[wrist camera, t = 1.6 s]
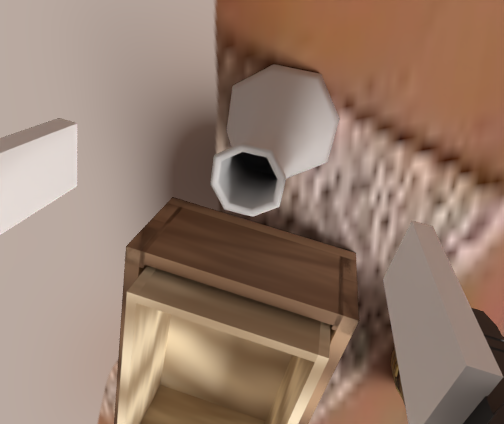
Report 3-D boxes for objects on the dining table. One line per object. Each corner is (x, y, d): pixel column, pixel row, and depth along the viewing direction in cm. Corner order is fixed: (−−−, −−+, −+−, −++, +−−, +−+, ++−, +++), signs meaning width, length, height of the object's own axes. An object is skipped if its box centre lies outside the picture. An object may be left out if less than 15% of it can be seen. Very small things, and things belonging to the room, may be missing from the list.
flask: (217, 71, 24) (143, 102, 15) (336, 54, 22) (331, 78, 13) (236, 179, 27) (184, 258, 18) (342, 173, 25) (341, 256, 16)
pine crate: (180, 223, 28) (126, 291, 21) (332, 271, 27) (329, 358, 20) (157, 379, 37) (114, 463, 30) (271, 419, 36) (254, 515, 29)
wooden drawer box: (172, 197, 28) (126, 246, 22) (355, 252, 27) (359, 320, 21) (149, 376, 39) (112, 443, 33) (281, 422, 37) (269, 501, 31)
